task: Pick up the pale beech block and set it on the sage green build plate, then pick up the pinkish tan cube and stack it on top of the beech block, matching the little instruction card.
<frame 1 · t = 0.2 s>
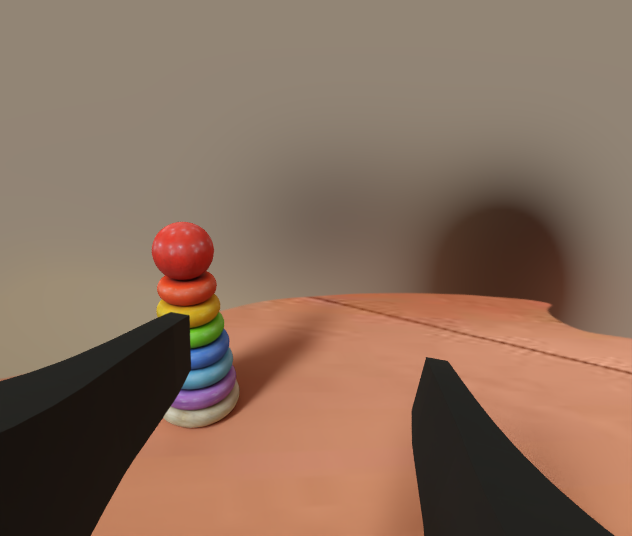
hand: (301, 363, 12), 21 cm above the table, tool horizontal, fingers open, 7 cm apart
stacking toy: (200, 404, 40), on the table
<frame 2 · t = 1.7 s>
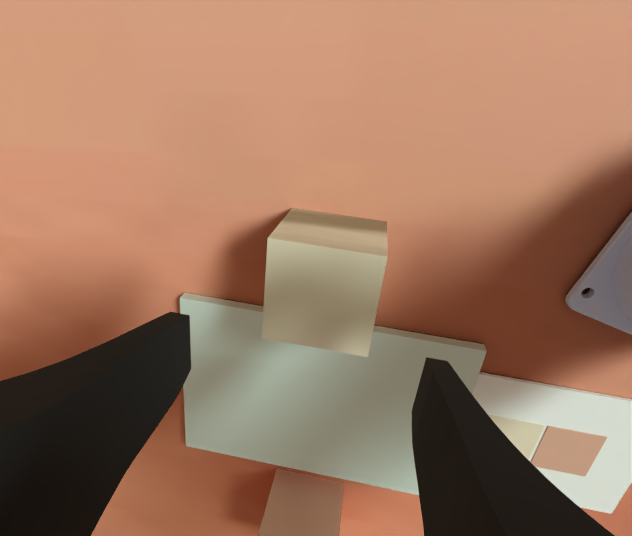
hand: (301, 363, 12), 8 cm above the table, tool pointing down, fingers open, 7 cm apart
instruction card: (535, 442, 22), on the table
build plate: (317, 397, 23), on the table
beech block: (333, 257, 20), on the table
pinkish tan cube: (307, 497, 27), on the table
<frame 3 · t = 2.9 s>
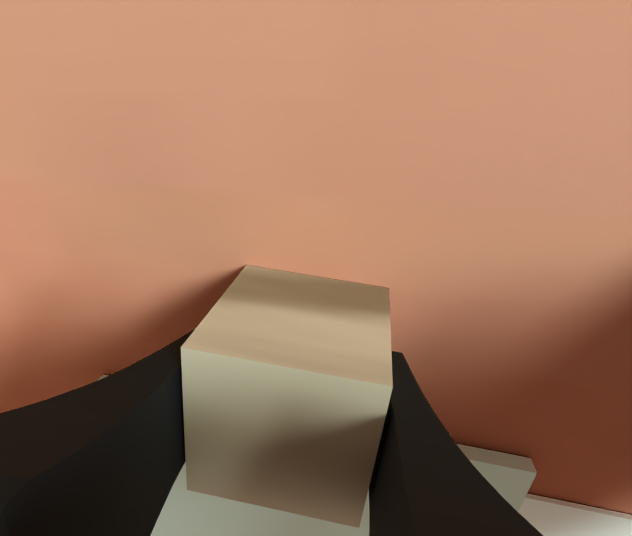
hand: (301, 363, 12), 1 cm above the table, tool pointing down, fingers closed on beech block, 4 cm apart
build plate: (293, 511, 17), on the table
beech block: (309, 336, 13), on the table, touching gripper
when the fingers open (3 cm above the table, at t = 6.1 s): beech block stays where it is, resting on build plate.
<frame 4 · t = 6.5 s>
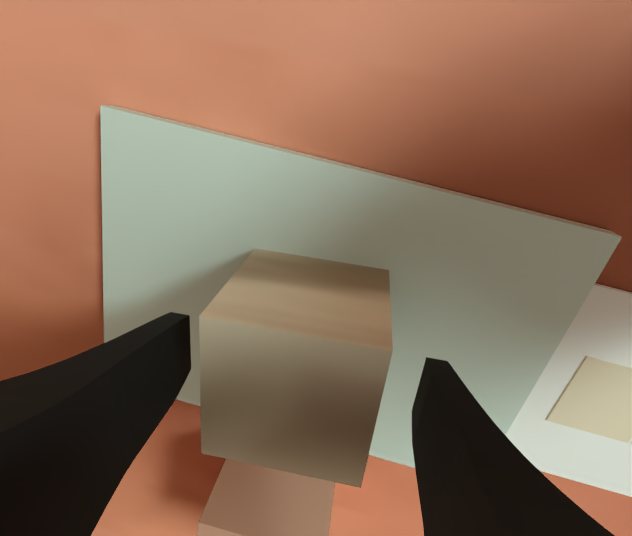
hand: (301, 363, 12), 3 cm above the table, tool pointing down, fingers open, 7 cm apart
build plate: (316, 313, 15), on the table
beech block: (313, 317, 14), point 1 cm above the table, touching build plate
pinkish tan cube: (280, 471, 18), on the table
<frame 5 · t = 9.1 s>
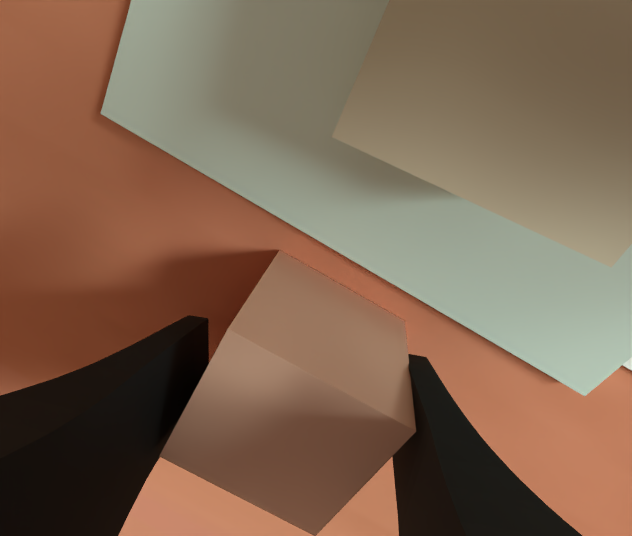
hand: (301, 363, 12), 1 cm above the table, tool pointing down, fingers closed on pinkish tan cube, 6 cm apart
build plate: (477, 74, 9), on the table
beech block: (486, 63, 9), point 1 cm above the table, touching build plate
pinkish tan cube: (309, 336, 13), on the table, touching gripper
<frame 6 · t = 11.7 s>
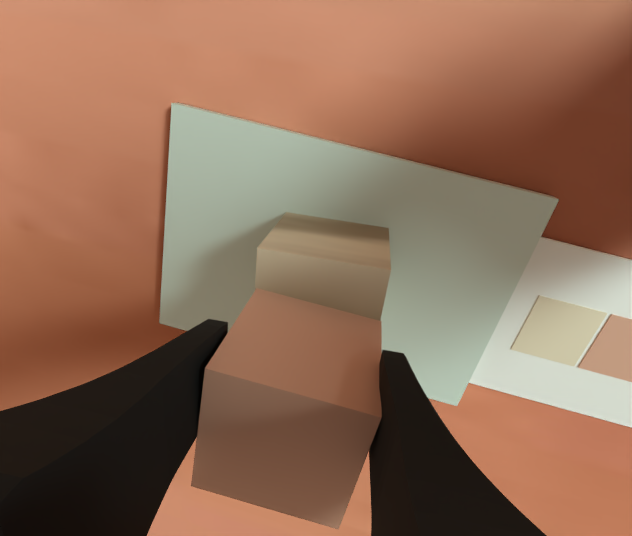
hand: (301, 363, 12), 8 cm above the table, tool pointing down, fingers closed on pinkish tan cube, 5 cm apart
instruction card: (589, 338, 18), on the table
build plate: (330, 265, 19), on the table
beech block: (330, 266, 18), point 1 cm above the table, touching build plate, pinkish tan cube
pinkish tan cube: (305, 355, 15), point 5 cm above the table, touching beech block, gripper
when the fingers open (8 cm above the table, at t = 11.8 s): pinkish tan cube stays where it is, resting on beech block.
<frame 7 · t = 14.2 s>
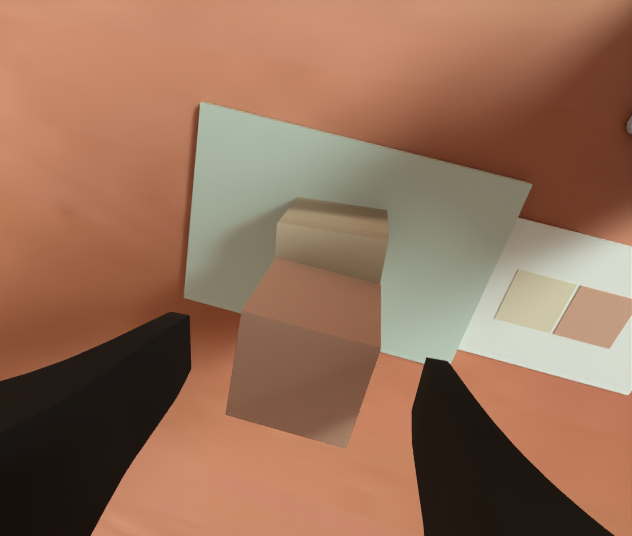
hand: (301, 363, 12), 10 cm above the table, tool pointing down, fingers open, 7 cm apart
instruction card: (562, 307, 21), on the table
build plate: (336, 244, 21), on the table
beech block: (336, 245, 21), point 1 cm above the table, touching build plate, pinkish tan cube
pinkish tan cube: (316, 316, 17), point 5 cm above the table, touching beech block
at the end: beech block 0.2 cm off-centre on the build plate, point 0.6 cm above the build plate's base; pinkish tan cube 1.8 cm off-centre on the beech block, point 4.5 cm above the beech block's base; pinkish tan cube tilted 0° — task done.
